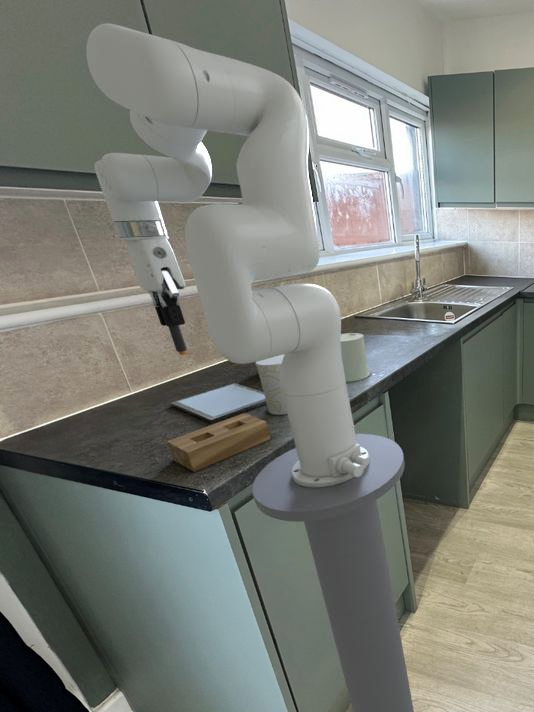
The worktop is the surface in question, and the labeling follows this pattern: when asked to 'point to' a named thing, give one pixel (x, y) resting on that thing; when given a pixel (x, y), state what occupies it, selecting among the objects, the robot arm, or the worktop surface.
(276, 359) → the cup
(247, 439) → the holder
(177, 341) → the stylus
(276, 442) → the worktop surface
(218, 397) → the tablet
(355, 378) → the pale green tapered cylinder
